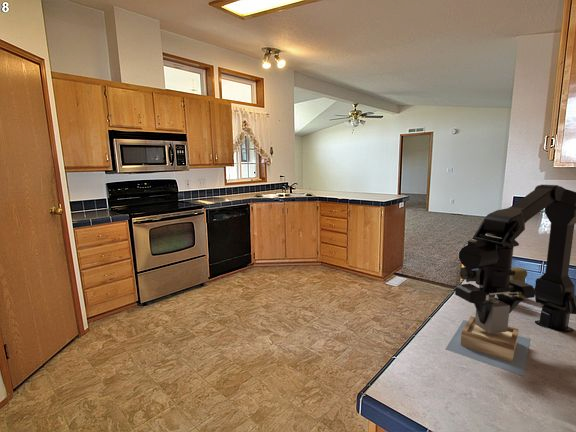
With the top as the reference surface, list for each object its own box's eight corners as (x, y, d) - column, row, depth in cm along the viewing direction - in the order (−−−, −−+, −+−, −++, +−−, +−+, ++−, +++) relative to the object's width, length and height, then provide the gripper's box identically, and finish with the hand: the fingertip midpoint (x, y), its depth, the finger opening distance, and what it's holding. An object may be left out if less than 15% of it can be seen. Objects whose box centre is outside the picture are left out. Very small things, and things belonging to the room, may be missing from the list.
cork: (529, 301, 109) (533, 271, 107) (509, 300, 110) (513, 270, 109) (520, 294, 115) (523, 265, 113) (501, 293, 116) (505, 264, 114)
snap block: (490, 322, 84) (493, 294, 83) (507, 331, 79) (510, 302, 78) (474, 323, 83) (477, 296, 82) (490, 333, 78) (493, 304, 77)
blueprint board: (463, 322, 94) (463, 320, 94) (529, 341, 84) (530, 338, 84) (444, 351, 79) (445, 348, 79) (523, 379, 69) (523, 376, 69)
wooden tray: (469, 328, 89) (470, 316, 89) (517, 342, 82) (518, 329, 82) (460, 345, 81) (461, 331, 80) (512, 362, 74) (514, 347, 73)
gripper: (501, 253, 88) (495, 305, 90) (442, 257, 84) (438, 311, 87) (540, 265, 77) (532, 324, 79) (474, 270, 73) (468, 332, 76)
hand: (491, 322), depth 81 cm, fingers closed on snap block, 5 cm apart
